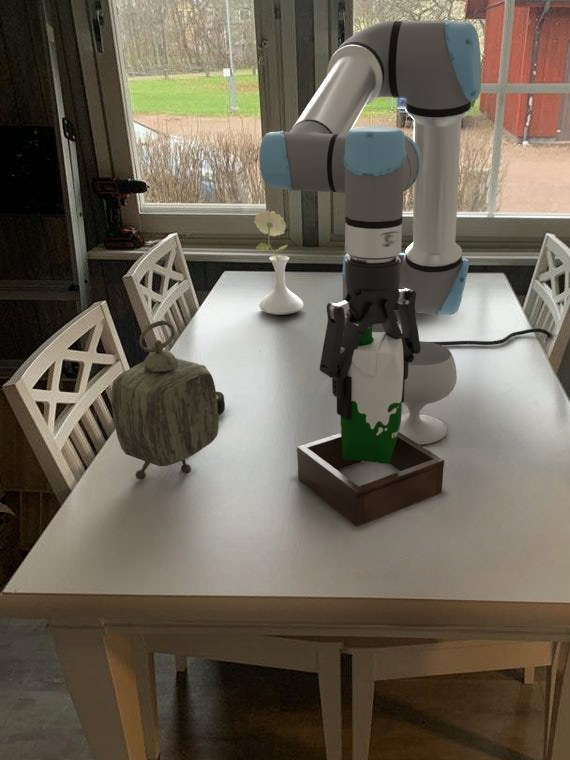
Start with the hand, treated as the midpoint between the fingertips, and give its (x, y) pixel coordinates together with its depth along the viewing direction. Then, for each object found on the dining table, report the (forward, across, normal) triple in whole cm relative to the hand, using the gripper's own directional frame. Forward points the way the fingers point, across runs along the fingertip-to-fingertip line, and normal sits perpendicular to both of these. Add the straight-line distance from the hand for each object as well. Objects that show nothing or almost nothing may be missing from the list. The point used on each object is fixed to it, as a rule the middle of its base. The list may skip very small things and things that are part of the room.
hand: (370, 407), depth 109 cm
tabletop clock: (+14, -23, +22) cm, 35 cm away
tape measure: (+14, -10, +39) cm, 43 cm away
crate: (+14, 0, 0) cm, 14 cm away
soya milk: (+8, 0, 0) cm, 8 cm away
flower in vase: (+15, +32, +84) cm, 91 cm away
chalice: (+14, +18, +11) cm, 25 cm away
